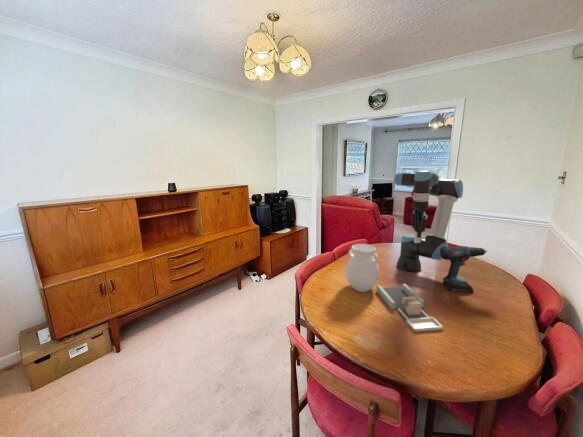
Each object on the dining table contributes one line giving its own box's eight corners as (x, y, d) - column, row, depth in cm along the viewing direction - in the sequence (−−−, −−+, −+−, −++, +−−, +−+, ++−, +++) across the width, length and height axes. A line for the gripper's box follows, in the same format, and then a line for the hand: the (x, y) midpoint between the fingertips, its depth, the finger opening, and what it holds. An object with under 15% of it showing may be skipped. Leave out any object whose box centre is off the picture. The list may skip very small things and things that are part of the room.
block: (401, 308, 124) (402, 297, 122) (413, 307, 124) (414, 296, 123) (408, 315, 118) (409, 304, 116) (420, 314, 118) (421, 303, 117)
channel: (376, 291, 141) (377, 285, 140) (404, 289, 142) (405, 283, 141) (391, 309, 124) (392, 303, 123) (423, 307, 125) (424, 300, 124)
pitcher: (383, 286, 145) (386, 246, 140) (369, 299, 132) (371, 255, 127) (354, 277, 158) (356, 240, 152) (339, 288, 145) (340, 247, 139)
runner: (378, 288, 144) (378, 287, 143) (399, 287, 144) (399, 286, 144) (405, 321, 114) (405, 319, 114) (431, 319, 115) (432, 317, 115)
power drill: (485, 293, 136) (492, 250, 130) (439, 289, 141) (444, 248, 135) (477, 285, 144) (483, 244, 139) (433, 282, 149) (438, 243, 143)
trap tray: (405, 321, 114) (405, 318, 114) (432, 319, 115) (433, 316, 114) (414, 331, 107) (414, 328, 107) (442, 329, 108) (443, 326, 108)
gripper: (407, 198, 137) (404, 239, 143) (421, 203, 125) (417, 247, 131) (420, 197, 138) (417, 238, 144) (435, 202, 125) (431, 246, 131)
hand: (417, 242), depth 137 cm, fingers closed
